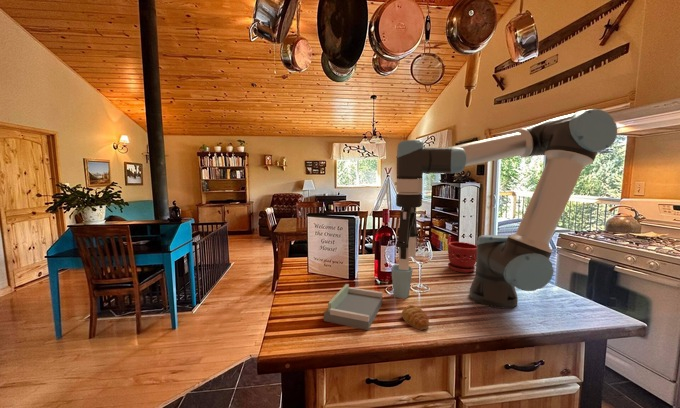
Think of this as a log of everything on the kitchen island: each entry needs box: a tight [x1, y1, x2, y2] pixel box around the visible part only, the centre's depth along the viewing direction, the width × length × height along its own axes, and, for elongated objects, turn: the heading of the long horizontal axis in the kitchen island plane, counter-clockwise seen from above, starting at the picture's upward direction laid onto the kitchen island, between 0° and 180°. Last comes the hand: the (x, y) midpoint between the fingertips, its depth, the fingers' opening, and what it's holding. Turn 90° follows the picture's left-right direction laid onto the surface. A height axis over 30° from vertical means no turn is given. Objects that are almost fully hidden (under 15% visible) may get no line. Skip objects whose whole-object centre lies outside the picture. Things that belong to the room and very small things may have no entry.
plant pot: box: [447, 241, 477, 273], centre depth 131 cm, size 13×13×12 cm
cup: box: [390, 264, 413, 299], centre depth 103 cm, size 8×8×10 cm
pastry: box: [401, 304, 430, 331], centre depth 84 cm, size 9×7×4 cm
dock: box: [323, 283, 384, 331], centre depth 91 cm, size 14×18×6 cm
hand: (407, 262), depth 86 cm, fingers open, 13 cm apart
